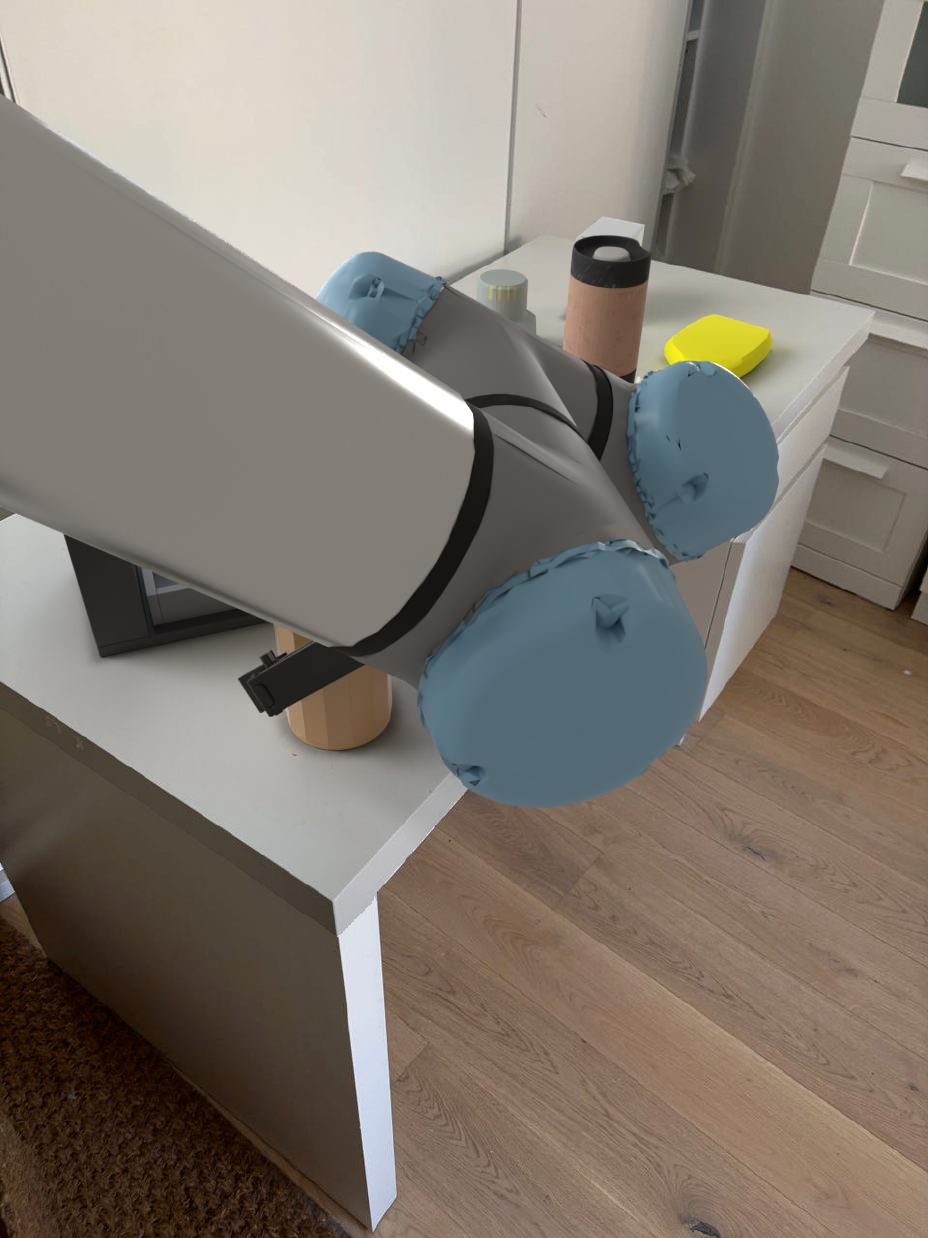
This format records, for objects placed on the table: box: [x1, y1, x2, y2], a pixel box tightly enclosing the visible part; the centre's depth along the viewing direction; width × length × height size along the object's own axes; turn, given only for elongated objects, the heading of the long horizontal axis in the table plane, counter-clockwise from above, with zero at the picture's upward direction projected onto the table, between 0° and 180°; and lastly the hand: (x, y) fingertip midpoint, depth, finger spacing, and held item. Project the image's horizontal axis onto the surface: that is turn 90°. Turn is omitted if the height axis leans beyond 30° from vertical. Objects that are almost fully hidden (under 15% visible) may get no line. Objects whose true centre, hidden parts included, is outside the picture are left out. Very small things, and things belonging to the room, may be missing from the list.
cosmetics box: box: [574, 216, 645, 247], centre depth 127 cm, size 10×6×10 cm, turn 155°
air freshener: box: [476, 268, 537, 334], centre depth 115 cm, size 11×8×10 cm
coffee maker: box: [62, 533, 268, 658], centre depth 75 cm, size 14×16×24 cm
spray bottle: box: [635, 313, 774, 383], centre depth 115 cm, size 3×11×24 cm
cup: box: [273, 624, 393, 751], centre depth 67 cm, size 8×8×12 cm
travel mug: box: [562, 235, 653, 384], centre depth 97 cm, size 8×8×20 cm
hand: (329, 642), depth 67 cm, fingers open, 13 cm apart
